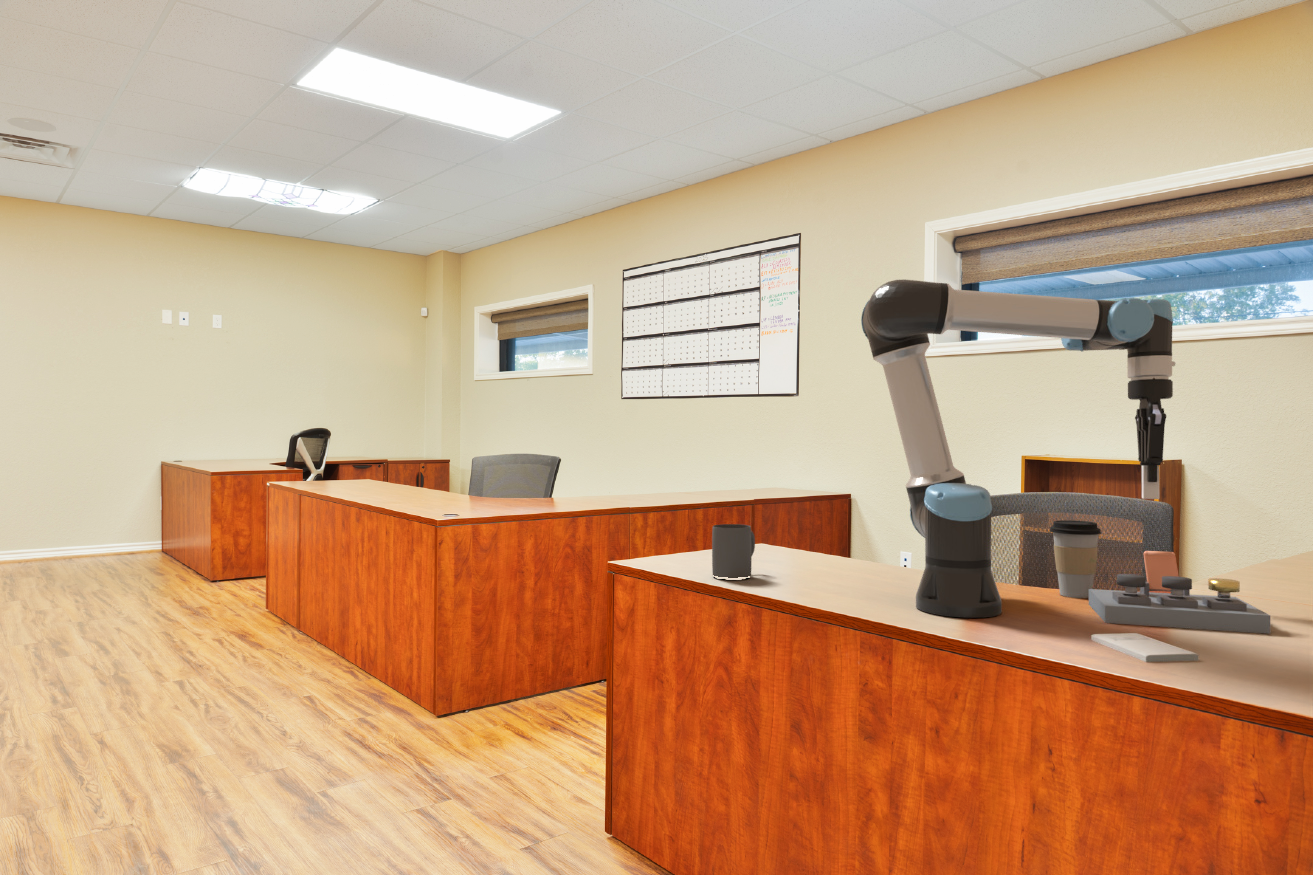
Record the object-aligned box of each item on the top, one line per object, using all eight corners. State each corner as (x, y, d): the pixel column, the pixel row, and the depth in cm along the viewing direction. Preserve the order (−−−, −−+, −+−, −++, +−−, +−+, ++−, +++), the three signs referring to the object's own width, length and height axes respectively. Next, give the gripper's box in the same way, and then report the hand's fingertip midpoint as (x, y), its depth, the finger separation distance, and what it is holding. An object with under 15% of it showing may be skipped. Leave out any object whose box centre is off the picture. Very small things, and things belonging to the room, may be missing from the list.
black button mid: (1165, 596, 137) (1165, 579, 137) (1159, 591, 141) (1158, 575, 141) (1195, 597, 136) (1195, 581, 136) (1187, 593, 140) (1187, 576, 140)
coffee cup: (1108, 600, 156) (1108, 525, 156) (1057, 599, 158) (1056, 524, 158) (1092, 591, 165) (1092, 520, 165) (1043, 590, 167) (1043, 519, 167)
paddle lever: (1149, 588, 146) (1143, 549, 150) (1147, 590, 147) (1142, 552, 151) (1181, 590, 145) (1175, 550, 148) (1179, 592, 146) (1173, 553, 149)
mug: (736, 582, 177) (736, 529, 177) (704, 577, 183) (704, 526, 183) (769, 574, 187) (769, 524, 187) (738, 570, 194) (738, 521, 194)
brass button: (1213, 598, 135) (1213, 581, 135) (1204, 594, 139) (1204, 577, 139) (1243, 600, 133) (1243, 583, 133) (1234, 595, 137) (1234, 579, 137)
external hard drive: (1145, 666, 114) (1091, 643, 126) (1199, 664, 114) (1139, 641, 127) (1145, 654, 114) (1091, 633, 126) (1198, 653, 114) (1139, 631, 127)
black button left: (1119, 593, 139) (1119, 577, 139) (1114, 589, 144) (1114, 573, 144) (1148, 595, 138) (1148, 578, 138) (1142, 590, 142) (1142, 574, 142)
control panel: (1105, 622, 138) (1105, 591, 138) (1088, 604, 153) (1088, 576, 153) (1270, 633, 130) (1270, 600, 130) (1235, 613, 145) (1235, 583, 145)
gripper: (1181, 376, 148) (1182, 501, 148) (1162, 380, 160) (1163, 496, 160) (1136, 377, 150) (1136, 500, 150) (1120, 381, 163) (1121, 495, 163)
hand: (1150, 498), depth 155 cm, fingers closed
